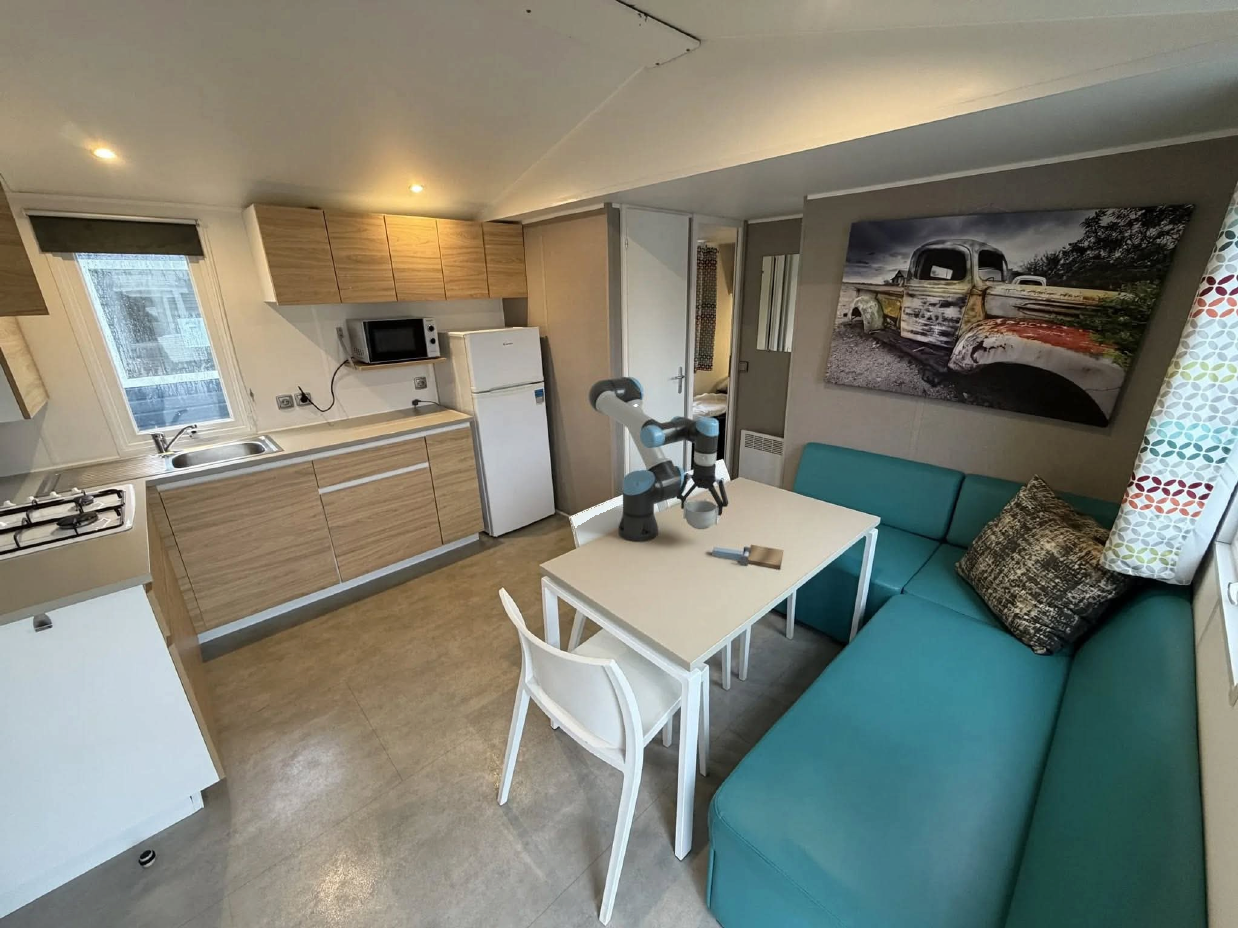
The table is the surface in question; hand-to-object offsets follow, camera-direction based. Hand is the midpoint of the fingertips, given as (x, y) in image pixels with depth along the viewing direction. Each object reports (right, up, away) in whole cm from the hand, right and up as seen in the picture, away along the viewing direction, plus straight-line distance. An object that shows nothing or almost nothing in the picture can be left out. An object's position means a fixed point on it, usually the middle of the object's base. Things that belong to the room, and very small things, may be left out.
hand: (700, 519), depth 174 cm
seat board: (+20, -12, -9) cm, 25 cm away
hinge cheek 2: (+12, -13, -13) cm, 22 cm away
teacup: (0, -2, 0) cm, 2 cm away
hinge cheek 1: (+15, -12, -7) cm, 20 cm away
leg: (+9, -12, -8) cm, 17 cm away
